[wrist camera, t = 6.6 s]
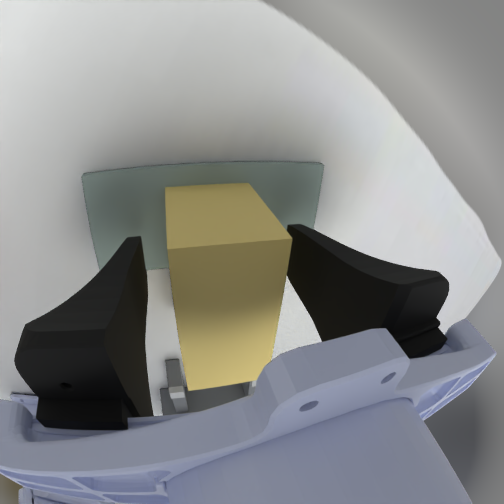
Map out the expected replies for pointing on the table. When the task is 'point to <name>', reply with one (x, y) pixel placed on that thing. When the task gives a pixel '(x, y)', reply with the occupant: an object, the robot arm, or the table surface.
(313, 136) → the table surface
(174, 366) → the grey boxy piece
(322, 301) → the robot arm
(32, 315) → the table surface
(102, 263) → the mat
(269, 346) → the tall tan block
